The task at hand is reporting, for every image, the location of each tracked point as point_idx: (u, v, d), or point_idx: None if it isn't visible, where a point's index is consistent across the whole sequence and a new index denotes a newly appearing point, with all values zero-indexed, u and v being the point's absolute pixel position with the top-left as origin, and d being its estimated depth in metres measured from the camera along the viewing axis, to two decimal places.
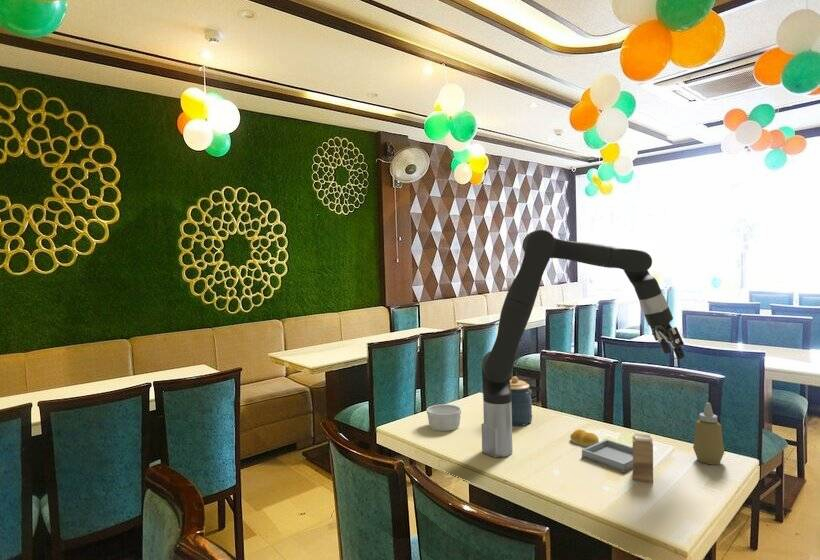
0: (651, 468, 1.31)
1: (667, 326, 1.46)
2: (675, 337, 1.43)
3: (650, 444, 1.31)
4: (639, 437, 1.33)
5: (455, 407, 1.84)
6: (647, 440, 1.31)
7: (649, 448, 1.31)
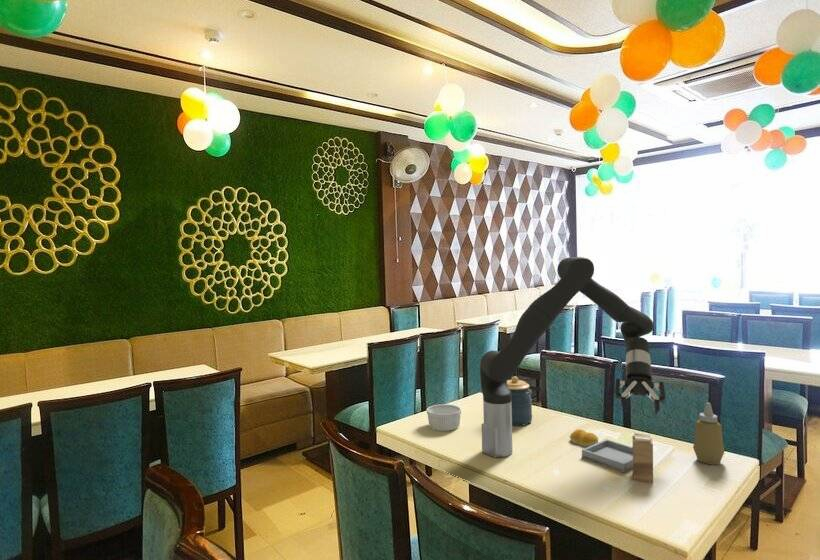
0: (651, 468, 1.31)
1: None
2: None
3: (650, 444, 1.31)
4: (639, 437, 1.33)
5: (455, 407, 1.84)
6: (647, 440, 1.31)
7: (648, 448, 1.31)
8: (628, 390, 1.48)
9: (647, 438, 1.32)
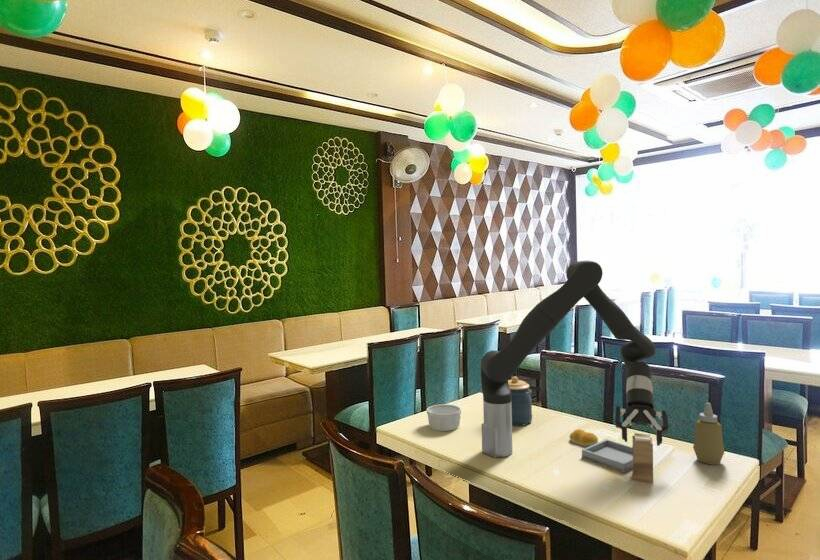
0: (651, 468, 1.31)
1: None
2: None
3: (650, 444, 1.31)
4: (639, 437, 1.33)
5: (455, 407, 1.84)
6: (647, 440, 1.31)
7: (649, 448, 1.31)
8: (629, 419, 1.40)
9: (647, 438, 1.32)
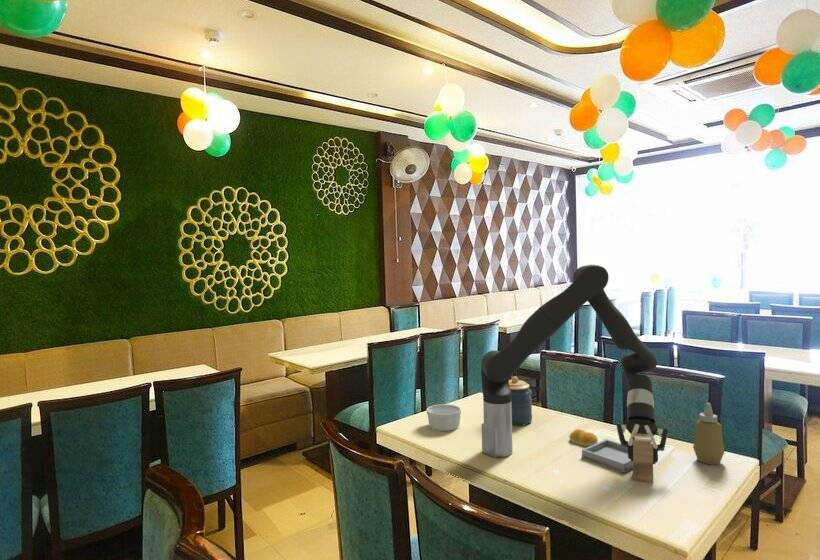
0: (651, 468, 1.31)
1: None
2: None
3: (650, 444, 1.31)
4: (639, 437, 1.33)
5: (455, 407, 1.84)
6: (647, 440, 1.31)
7: (649, 448, 1.31)
8: (633, 436, 1.36)
9: (647, 438, 1.32)
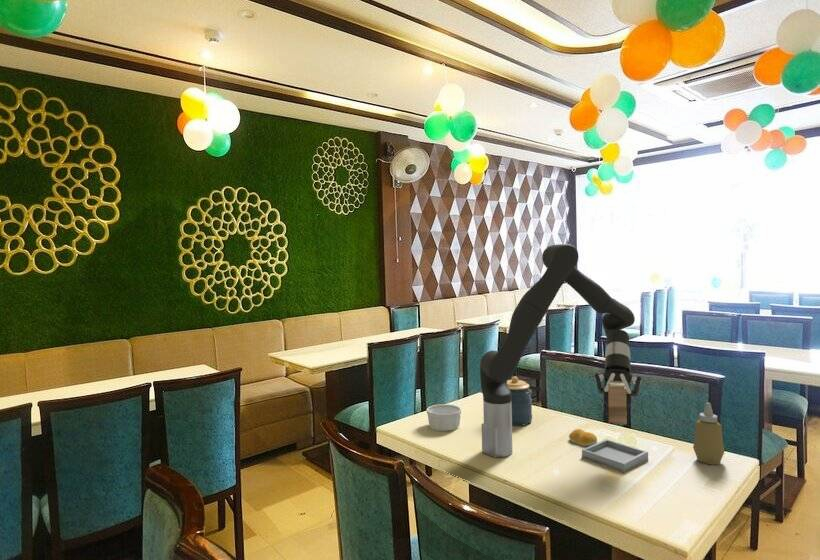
0: (625, 411, 1.41)
1: None
2: (639, 386, 1.44)
3: (624, 389, 1.41)
4: (614, 383, 1.43)
5: (455, 407, 1.84)
6: (621, 385, 1.42)
7: (622, 392, 1.41)
8: None
9: (621, 384, 1.43)
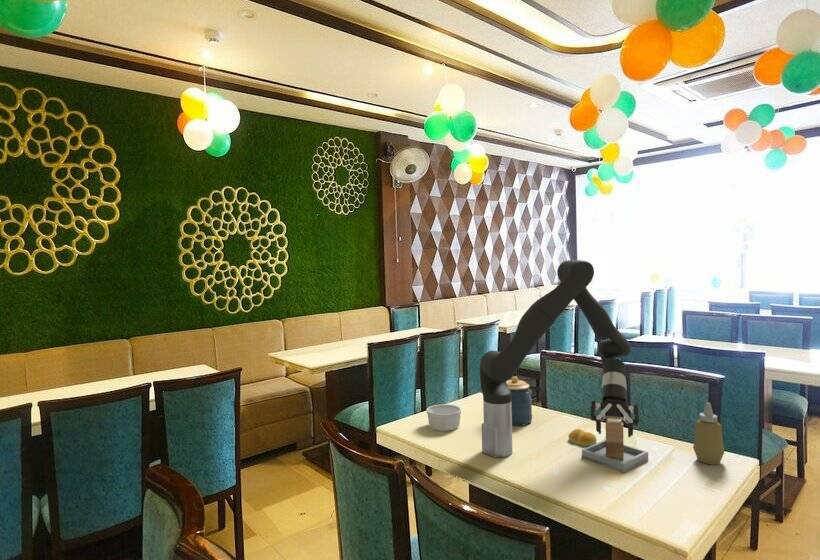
0: (621, 447, 1.44)
1: (626, 404, 1.51)
2: None
3: (621, 425, 1.44)
4: (611, 419, 1.46)
5: (455, 407, 1.84)
6: (618, 421, 1.45)
7: (619, 428, 1.44)
8: (603, 413, 1.50)
9: (618, 420, 1.45)
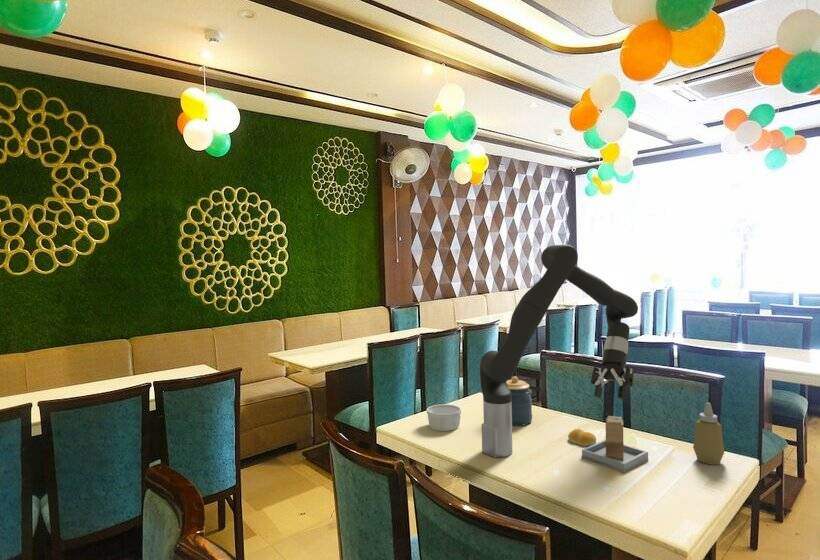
0: (621, 447, 1.44)
1: (623, 367, 1.55)
2: (630, 375, 1.51)
3: (621, 425, 1.44)
4: (611, 419, 1.46)
5: (455, 407, 1.84)
6: (618, 421, 1.45)
7: (619, 428, 1.44)
8: (600, 378, 1.59)
9: (618, 420, 1.45)
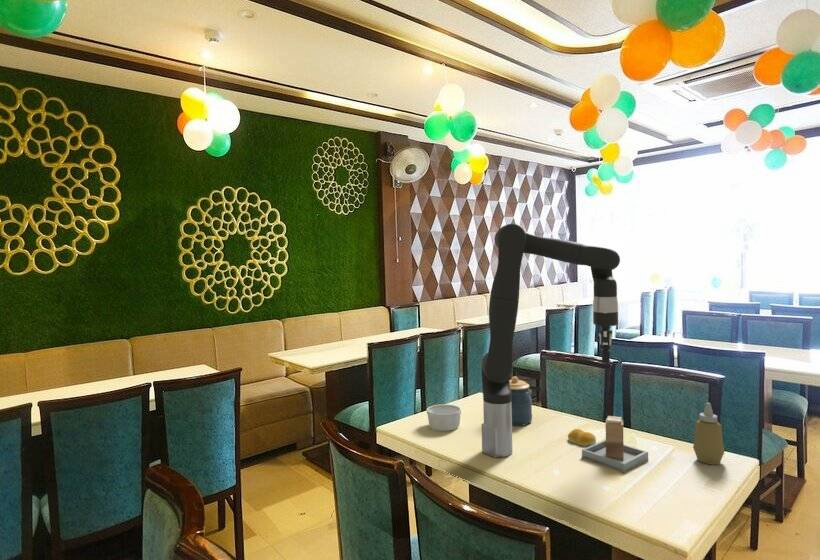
0: (621, 447, 1.44)
1: (605, 328, 1.49)
2: (604, 339, 1.46)
3: (621, 425, 1.44)
4: (611, 419, 1.46)
5: (455, 407, 1.84)
6: (618, 421, 1.45)
7: (619, 428, 1.44)
8: None
9: (618, 420, 1.45)
